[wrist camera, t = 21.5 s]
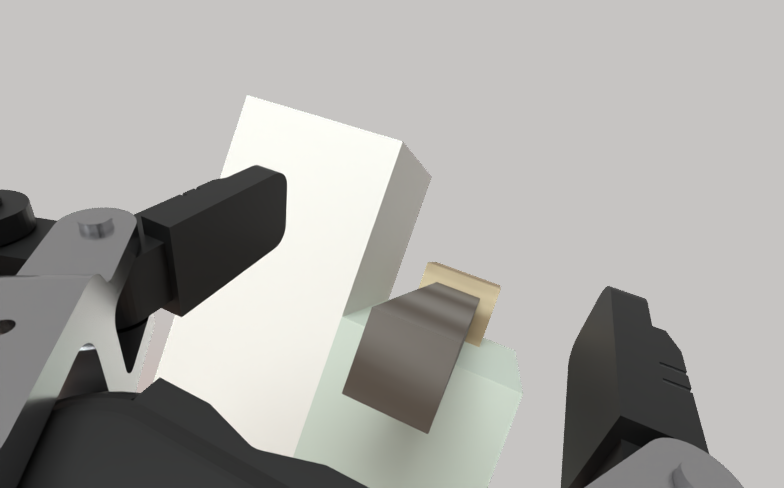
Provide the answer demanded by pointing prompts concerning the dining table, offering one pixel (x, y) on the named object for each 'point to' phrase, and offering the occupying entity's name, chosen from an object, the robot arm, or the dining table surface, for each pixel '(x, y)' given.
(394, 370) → the block
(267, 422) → the riser
